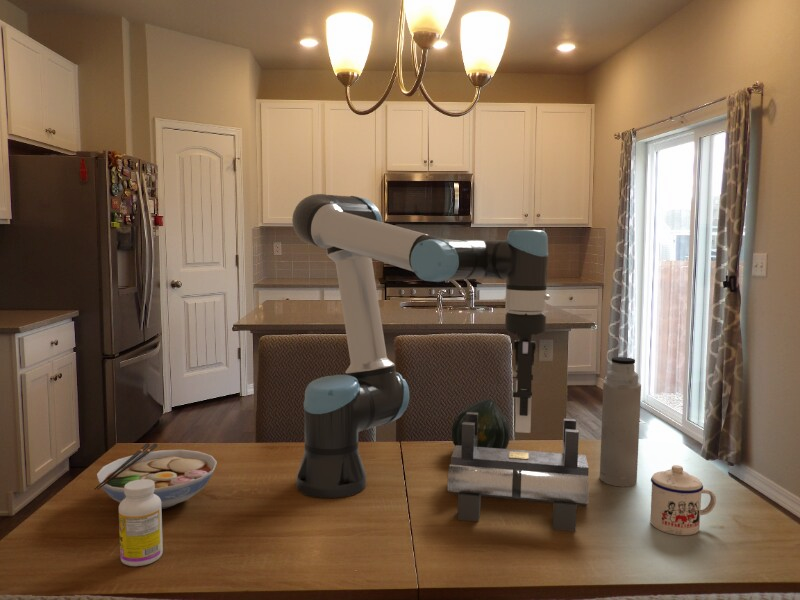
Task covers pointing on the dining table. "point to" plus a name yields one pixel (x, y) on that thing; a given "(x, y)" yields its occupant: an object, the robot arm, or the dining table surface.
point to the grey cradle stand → (520, 455)
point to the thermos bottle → (620, 424)
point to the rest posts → (561, 511)
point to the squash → (484, 425)
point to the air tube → (518, 483)
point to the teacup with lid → (678, 501)
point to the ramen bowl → (159, 473)
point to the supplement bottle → (140, 524)
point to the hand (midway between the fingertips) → (522, 421)
